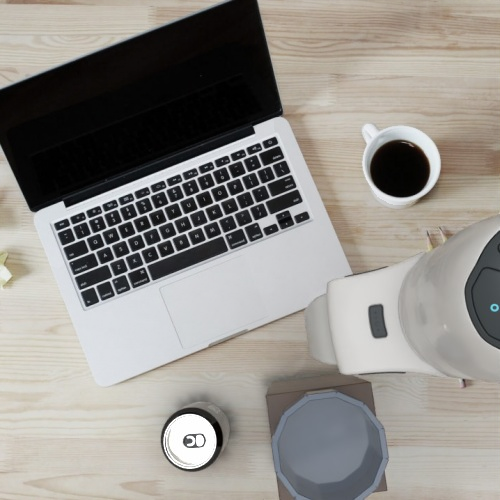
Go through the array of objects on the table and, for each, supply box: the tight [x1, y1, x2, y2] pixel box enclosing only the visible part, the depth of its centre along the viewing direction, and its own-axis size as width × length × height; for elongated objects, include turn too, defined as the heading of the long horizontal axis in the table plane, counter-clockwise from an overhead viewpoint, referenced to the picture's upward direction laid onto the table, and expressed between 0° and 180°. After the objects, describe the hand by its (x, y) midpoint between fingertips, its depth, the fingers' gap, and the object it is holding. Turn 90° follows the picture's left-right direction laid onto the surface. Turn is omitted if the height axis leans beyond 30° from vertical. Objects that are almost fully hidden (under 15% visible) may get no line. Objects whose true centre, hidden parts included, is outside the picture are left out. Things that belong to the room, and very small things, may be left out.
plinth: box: [265, 372, 388, 500], centre depth 73 cm, size 9×9×27 cm
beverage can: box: [160, 401, 231, 473], centre depth 81 cm, size 7×7×12 cm
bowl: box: [270, 388, 390, 500], centre depth 57 cm, size 9×9×5 cm
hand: (422, 320), depth 60 cm, fingers open, 8 cm apart
